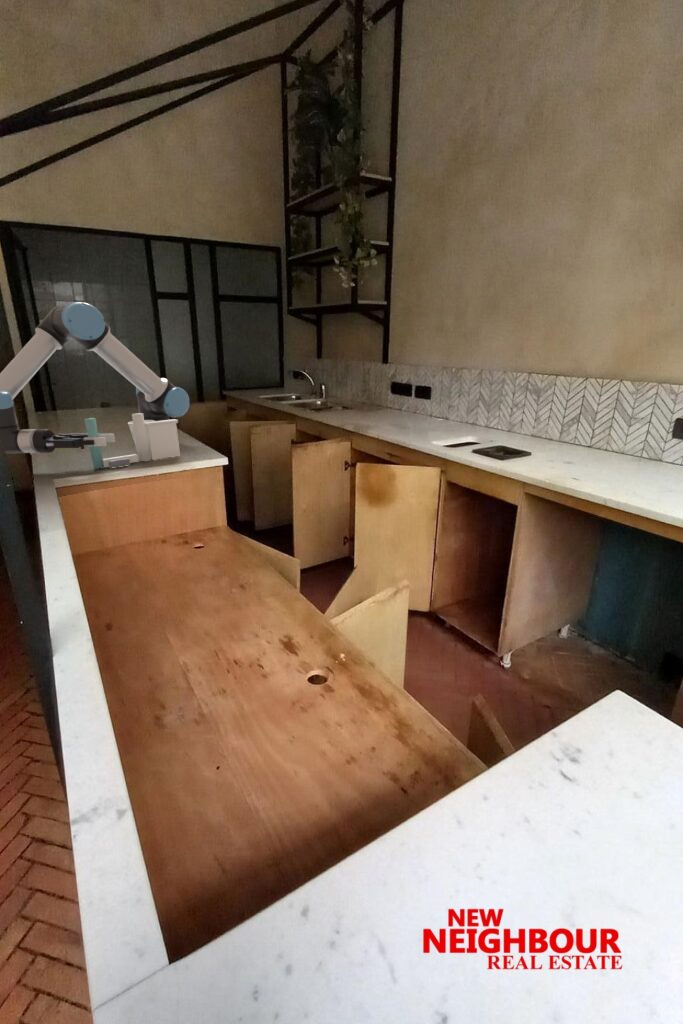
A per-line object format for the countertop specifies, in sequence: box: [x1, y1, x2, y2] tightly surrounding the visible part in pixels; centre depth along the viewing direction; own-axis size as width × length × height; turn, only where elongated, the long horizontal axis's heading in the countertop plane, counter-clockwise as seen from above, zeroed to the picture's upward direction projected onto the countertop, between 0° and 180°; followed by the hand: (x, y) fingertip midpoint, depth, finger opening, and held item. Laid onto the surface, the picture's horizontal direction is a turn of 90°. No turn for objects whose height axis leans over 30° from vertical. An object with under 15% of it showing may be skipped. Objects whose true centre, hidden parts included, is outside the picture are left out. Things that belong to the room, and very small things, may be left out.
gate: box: [84, 412, 151, 470], centre depth 165 cm, size 18×4×16 cm, turn 131°
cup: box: [127, 420, 154, 450], centre depth 188 cm, size 10×10×11 cm
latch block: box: [108, 458, 131, 469], centre depth 165 cm, size 6×2×2 cm, turn 130°
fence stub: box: [145, 418, 181, 460], centre depth 175 cm, size 11×3×13 cm, turn 130°
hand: (109, 439), depth 160 cm, fingers open, 6 cm apart
